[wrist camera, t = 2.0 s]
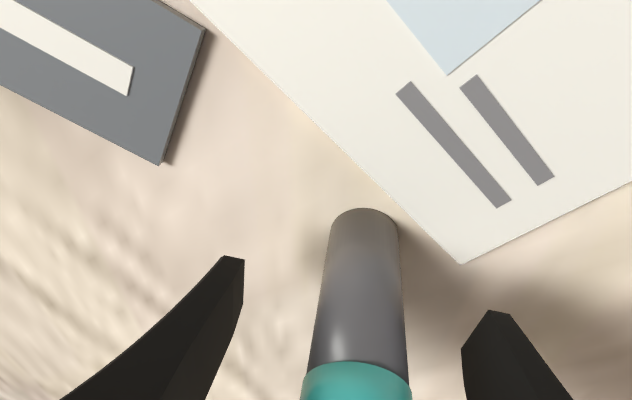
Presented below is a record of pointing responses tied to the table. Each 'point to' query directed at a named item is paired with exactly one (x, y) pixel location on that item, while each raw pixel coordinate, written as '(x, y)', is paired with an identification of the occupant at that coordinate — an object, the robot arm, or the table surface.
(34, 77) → the plate
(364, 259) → the marker
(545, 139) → the paper
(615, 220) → the table surface
